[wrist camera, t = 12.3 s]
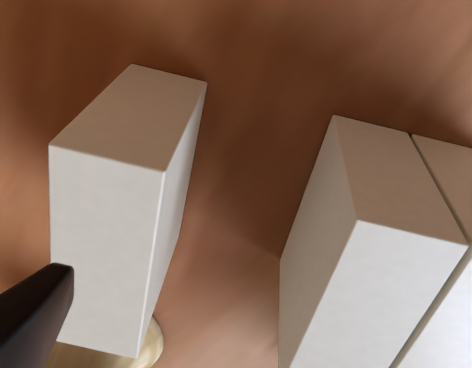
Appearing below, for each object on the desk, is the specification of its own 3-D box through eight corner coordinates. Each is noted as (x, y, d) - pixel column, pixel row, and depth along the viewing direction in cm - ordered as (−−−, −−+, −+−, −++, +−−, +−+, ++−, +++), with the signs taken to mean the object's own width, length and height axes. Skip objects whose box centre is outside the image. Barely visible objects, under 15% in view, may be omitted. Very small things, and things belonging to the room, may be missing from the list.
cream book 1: (407, 131, 20) (470, 246, 13) (340, 273, 25) (360, 411, 18) (332, 113, 20) (356, 219, 13) (279, 259, 24) (276, 392, 18)
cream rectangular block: (485, 151, 20) (588, 274, 13) (403, 288, 25) (447, 430, 18) (411, 133, 20) (476, 247, 13) (343, 274, 25) (365, 412, 18)
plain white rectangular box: (208, 81, 19) (165, 171, 13) (179, 235, 24) (137, 360, 17) (130, 62, 19) (46, 143, 13) (117, 220, 24) (50, 340, 17)
